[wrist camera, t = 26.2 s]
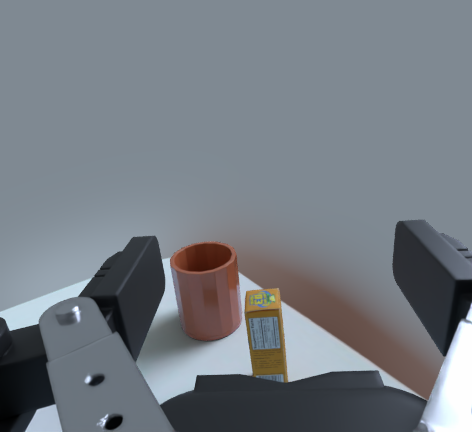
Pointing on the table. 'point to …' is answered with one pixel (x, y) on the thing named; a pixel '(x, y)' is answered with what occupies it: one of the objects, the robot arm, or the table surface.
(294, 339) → the table surface
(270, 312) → the supplement box
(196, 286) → the cup
